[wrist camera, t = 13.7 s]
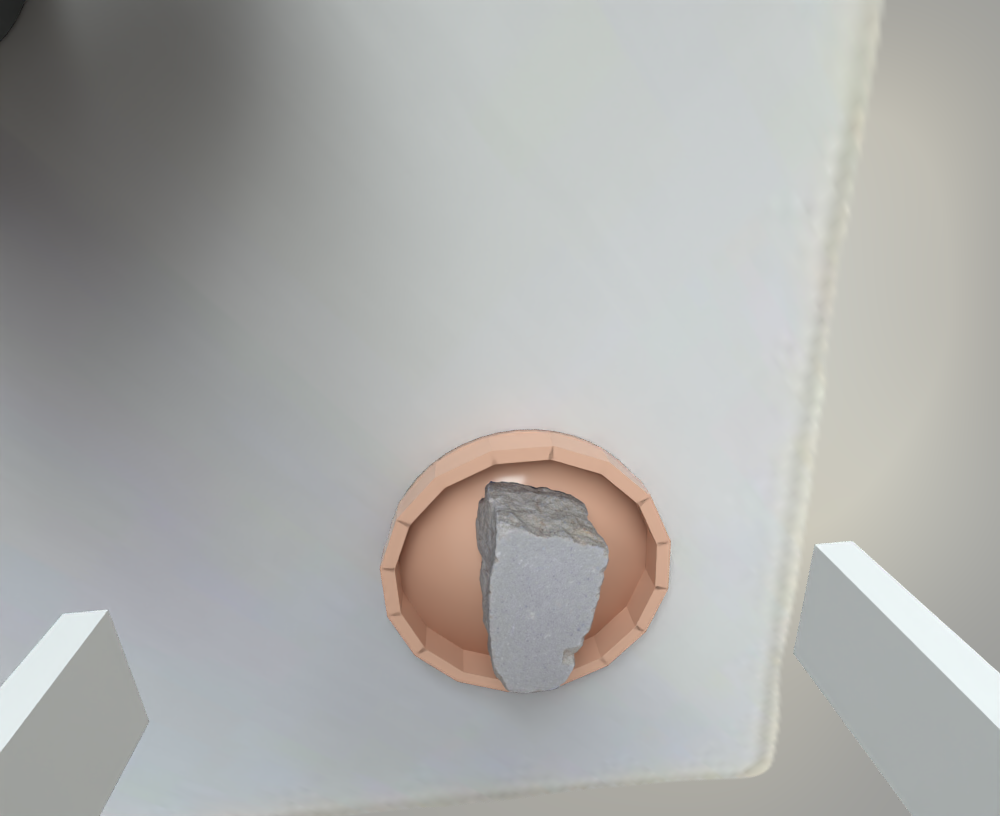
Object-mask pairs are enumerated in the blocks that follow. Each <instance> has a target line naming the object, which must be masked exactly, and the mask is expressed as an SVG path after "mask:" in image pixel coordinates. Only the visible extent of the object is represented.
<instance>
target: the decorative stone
mask: <svg viewBox="0 0 1000 816" xmlns="http://www.w3.org/2000/svg"><path fill="white" fill-rule="evenodd" d="M587 516H588V511H587V508H586V506H585V504H584V503H583V502H582V501H580V500H579V499H577V498H575V497H574V496H572V495H571V494H566V493H564V492H561V491H556V490H551V489H549V488H547V487H538V488H536V487H533V486H529V485H523V484H519V483H515V482H509V483H508V482H503V481H501V482H493V481H490V482H489V484H487V485H486V487H485V497H484V498H482V499H481V500H480V501H479V504H478V511H477V518H476V539H477V547H478V550H479V552H480V554H481V556H482V562H481V563H482V564H481V569H480V578H479V580H480V586H481V591H482V609H483V623H484V625H485V627H486V629H487V633H488V642H487V646H488V652H489V655H490V657H491V663H492V667H493V671H494V674H495V675H496V677H497V678H498V679H499V680H500V681H501V682H502V684H503V686H504V687H505V689H506V690H507V691H510V692H516V693H533V692H538V691H548V690H553V689H556V688H558V687H559V686H560V685H561V684H563V683H564V682H565V681H566V680H567V679H568V677H569V675H570V673H571V672H572V670H573V668H574V666H575V658H574V653H576V652H577V651H578V650H579V649H580V648H581V647H582V646H583V641H584V637H585V635H586V634H587V633H588V632H589V630H590V628H591V625H592V622H593V618H594V612H595V609H596V606H597V603H598V600H599V597H600V588H601V585H602V583H603V580H604V571H605V569H606V567H607V564H608V561H609V557H608V554H609V550H608V546H607V544H606V543H605V541H604V539H603V538H602V537H601V536H600V535H599V534H598V533H597V531H596V529H595V528H594V526H593V525H592V523H591V522H590V521H589V520H588V518H587Z"/></svg>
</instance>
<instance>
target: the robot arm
mask: <svg viewBox="0 0 1000 816" xmlns="http://www.w3.org/2000/svg"><path fill="white" fill-rule="evenodd" d="M24 1H25V0H0V41H1V40H2V38H3V37H4V36H5V35H6V34H7V33H8V31H9V30H10V28H11V27H12V25H13V24H14V22H15V20H16V19H17V17H18V15H19V13H20V11H21V8H22V6H23V3H24ZM794 655H795V656H796V658H797V659H798V661H799V662H800V663H801V664H802V666H803V667H804V669H805V670H806V671H807V673H808V674H809V675H810V677H811V678H812V679H813V681H814V682H815V684H816V685H817V687H818V688H819V689H820V691H821V692H822V693H823V695H824V696H825V697H826V699H827V700H828V701H829V703H830V704H831V706H832V707H833V708H834V710H835V711H836V713H837V714H838V715H839V717H840V718H841V719H842V721H843V722H844V723H845V725H846V726H847V728H848V729H849V730H850V732H851V733H852V734H853V735H854V737H855V738H856V740H857V741H858V743H859V744H860V745H861V747H862V748H863V749H864V751H865V752H866V754H867V755H868V756H869V758H870V759H871V760H872V762H873V763H874V764H875V766H876V767H877V769H878V770H879V771H880V773H881V774H882V775H883V777H884V778H885V780H886V781H887V782H888V784H889V785H890V786H891V788H892V789H893V790H894V792H895V793H896V795H897V796H898V797H899V799H900V800H901V801H902V803H903V804H904V806H905V807H906V808H907V810H908V811H909V812H910V814H911V815H912V816H1000V673H999V672H998V671H996V670H995V669H994V668H993V667H992V666H991V665H990V664H989V663H987V662H986V661H985V660H984V659H983V658H982V657H981V656H980V655H978V653H976V652H975V651H974V650H973V649H972V648H971V647H970V646H969V645H968V644H966V643H965V642H964V641H963V640H962V639H961V638H960V637H959V636H957V635H956V634H955V633H954V632H953V631H952V630H951V629H950V628H949V627H947V626H946V625H945V624H944V623H943V622H942V621H941V620H940V619H939V618H937V617H936V616H935V615H934V614H933V613H932V612H931V611H930V610H929V609H927V608H926V607H925V606H924V605H923V604H922V603H921V602H920V601H919V600H917V599H916V598H915V597H914V596H913V595H912V594H911V593H910V592H908V591H907V590H906V589H905V588H904V587H903V586H902V585H901V584H900V583H899V582H897V581H896V580H895V579H894V578H893V577H892V576H891V575H890V574H889V573H887V572H886V571H885V570H884V569H883V568H882V567H881V566H879V564H877V563H876V562H875V561H874V560H873V559H872V558H871V557H870V556H869V555H867V554H866V553H865V552H864V551H863V550H862V549H861V548H860V547H858V546H857V545H856V544H855V543H854V542H853V541H847V542H836V543H825V544H815V546H814V551H813V556H812V562H811V566H810V571H809V576H808V582H807V587H806V592H805V597H804V602H803V607H802V612H801V617H800V622H799V627H798V632H797V637H796V643H795V647H794ZM148 723H149V719H148V717H147V714H146V711H145V709H144V706H143V703H142V700H141V698H140V695H139V692H138V689H137V687H136V684H135V681H134V679H133V676H132V673H131V670H130V668H129V665H128V662H127V660H126V657H125V654H124V651H123V649H122V646H121V643H120V640H119V638H118V635H117V632H116V630H115V627H114V624H113V621H112V619H111V616H110V613H109V611H108V610H99V611H88V612H77V613H66V614H62V615H61V617H60V618H59V619H58V620H57V621H56V623H55V624H54V625H53V626H52V627H51V628H50V630H49V631H48V632H47V633H46V634H45V635H44V637H43V638H42V639H41V640H40V641H39V643H38V644H37V645H36V646H35V647H34V648H33V650H32V651H31V652H30V653H29V654H28V655H27V657H26V658H25V659H24V660H23V661H22V662H21V664H20V665H19V666H18V667H17V668H16V670H15V671H14V672H13V673H12V674H11V675H10V677H9V678H8V679H7V680H6V681H5V682H4V684H3V685H2V686H1V687H0V816H100V814H101V812H102V811H103V809H104V807H105V805H106V803H107V801H108V799H109V797H110V795H111V794H112V792H113V790H114V788H115V786H116V784H117V782H118V780H119V778H120V776H121V775H122V773H123V771H124V769H125V767H126V765H127V763H128V761H129V759H130V757H131V756H132V754H133V752H134V750H135V748H136V746H137V744H138V742H139V740H140V739H141V737H142V735H143V733H144V731H145V729H146V727H147V725H148Z"/></svg>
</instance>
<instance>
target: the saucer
mask: <svg viewBox="0 0 1000 816" xmlns="http://www.w3.org/2000/svg"><path fill="white" fill-rule="evenodd" d="M490 481H493V482H501V481H503V482H508V483H509V482H515V483H519V484H523V485H529V486H533V487H536V488H538V487H547V488H549V489H551V490H556V491H561V492H564V493H566V494H571V495H572V496H574V497H575V498H577V499H579V500H580V501H582V502H583V503H584V504H585V506H586V508H587V511H588V516H587V518H588V520H589V521H590V522H591V523H592V525H593V526H594V528H595V529H596V531H597V533H598V534H599V535H600V536H601V537H602V538H603V539H604V541H605V543H606V544H607V546H608V550H609V554H608V557H609V561H608V564H607V567H606V569H605V571H604V580H603V583H602V585H601V588H600V597H599V600H598V603H597V606H596V609H595V612H594V618H593V622H592V625H591V628H590V630H589V632H588V633H587V634H586V635H585V637H584V641H583V646H582V647H581V648H580V649H579V650H578V651H577V652H576V653H574V658H575V666H574V668H573V670H572V672H571V673H570V675H569V677H568V679H567V680H566V681H565V682H564V683H563V684H561V685H564V684H566V683H568V682H571V681H573V680H575V679H578V678H580V677H582V676H585V675H587V674H589V673H592V672H594V671H596V670H599V669H601V668H603V667H606V666H608V665H609V664H610V663H611V662H612V661H613V660H615V659H616V658H617V657H618V656H619V655H620V654H621V653H622V652H624V651H625V650H626V649H627V648H628V647H629V646H630V645H631V644H633V643H634V642H635V641H636V640H637V639H638V638H639V637H640V636H642V635H643V634H644V633H645V632H646V630H647V628H648V627H649V625H650V623H651V621H652V619H653V617H654V615H655V613H656V611H657V609H658V607H659V605H660V603H661V602H662V600H663V598H664V596H665V594H666V592H667V590H668V583H669V564H670V546H671V541H670V539H669V536H668V534H667V532H666V530H665V527H664V525H663V523H662V520H661V518H660V516H659V514H658V511H657V509H656V507H655V505H654V502H653V500H652V498H651V496H650V494H649V493H648V491H647V490H646V488H645V487H644V485H643V484H642V482H641V481H640V480H639V479H638V478H637V477H636V476H634V475H633V474H632V473H631V472H630V471H629V470H628V469H627V468H626V467H625V466H624V465H623V464H622V463H621V462H620V461H619V460H618V459H617V458H615V457H614V456H613V455H611V454H610V453H608V452H607V451H606V450H604V449H602V448H601V447H599V446H597V445H595V444H593V443H591V442H589V441H586V440H584V439H581V438H578V437H575V436H573V435H569V434H564V433H560V432H555V431H546V430H536V429H534V430H513V431H506V432H499V433H495V434H491V435H488V436H484V437H480V438H477V439H475V440H473V441H470V442H468V443H465V444H463V445H461V446H459V447H457V448H455V449H454V450H452V451H450V452H448V453H446V454H445V455H443V456H442V457H441V458H439V459H438V460H437V461H435V462H434V463H433V464H431V465H430V466H429V467H428V468H427V469H426V470H425V471H424V472H423V473H422V474H421V475H420V476H419V477H418V478H417V479H416V480H415V481H414V483H413V484H412V485H411V486H410V488H409V489H408V490H407V492H406V493H405V495H404V497H403V498H402V499H401V501H400V502H399V504H398V507H397V510H396V512H395V515H394V517H393V520H392V523H391V527H390V531H389V534H388V538H387V541H386V544H385V547H384V550H383V555H382V561H381V566H380V572H381V579H382V585H383V592H384V598H385V605H386V611H387V617H388V618H389V620H390V621H391V622H392V624H393V625H394V627H395V628H396V630H397V631H398V632H399V634H400V635H401V637H402V638H403V639H404V641H405V642H406V644H407V645H408V646H409V648H410V649H411V651H412V652H413V654H414V655H415V656H416V657H418V658H420V659H421V660H423V661H425V662H426V663H428V664H429V665H431V666H433V667H434V668H436V669H438V670H439V671H441V672H443V673H444V674H446V675H447V676H449V677H451V678H452V679H454V680H456V681H457V682H462V683H467V684H472V685H477V686H482V687H487V688H491V689H496V690H501V691H506V692H510V691H507V690H506V689H505V687H504V686H503V684H502V682H501V681H500V680H499V679H498V678H497V677H496V675H495V674H494V671H493V667H492V663H491V657H490V655H489V652H488V646H487V642H488V633H487V629H486V627H485V625H484V623H483V609H482V591H481V586H480V580H479V578H480V569H481V564H482V563H481V562H482V556H481V554H480V552H479V550H478V547H477V539H476V518H477V511H478V504H479V501H480V500H481V499H482V498H484V497H485V487H486V485H487V484H489V482H490ZM561 685H560V686H561Z"/></svg>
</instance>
